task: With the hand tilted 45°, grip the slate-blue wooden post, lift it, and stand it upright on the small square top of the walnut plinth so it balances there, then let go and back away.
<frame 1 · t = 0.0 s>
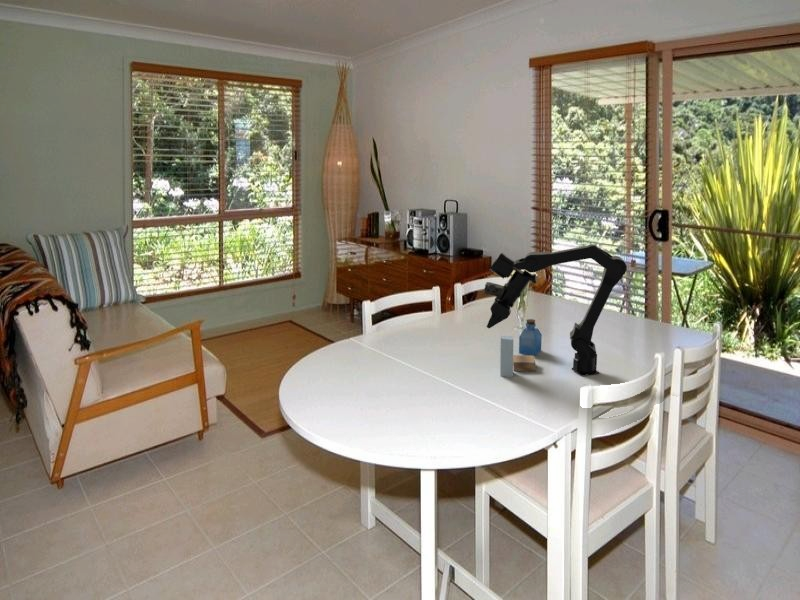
hand: (489, 323, 189), 15 cm above the table, tool tilted 35°, fingers open, 9 cm apart
walnut plinth: (523, 367, 190), on the table
slate-blue post: (506, 374, 184), on the table
perfume bottle: (530, 352, 205), on the table
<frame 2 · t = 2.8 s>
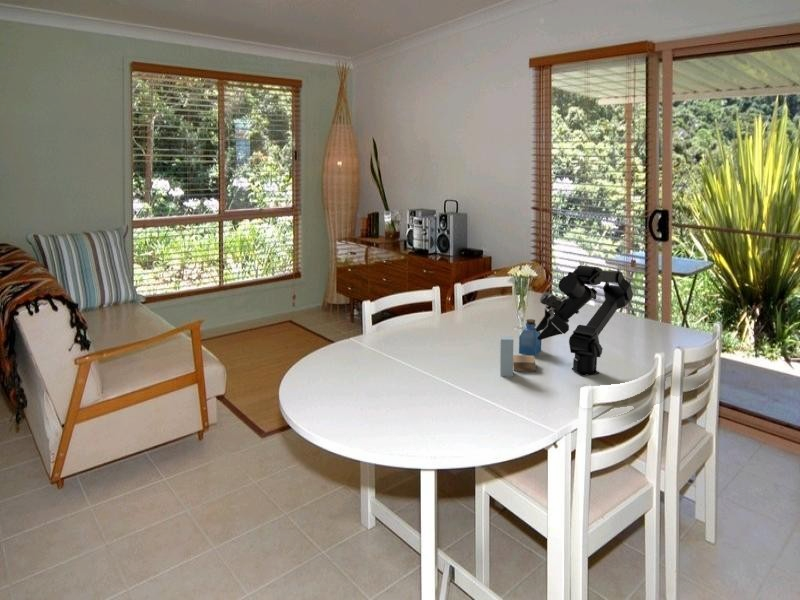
hand: (537, 334, 180), 14 cm above the table, tool tilted 45°, fingers open, 9 cm apart
nothing on the table moved.
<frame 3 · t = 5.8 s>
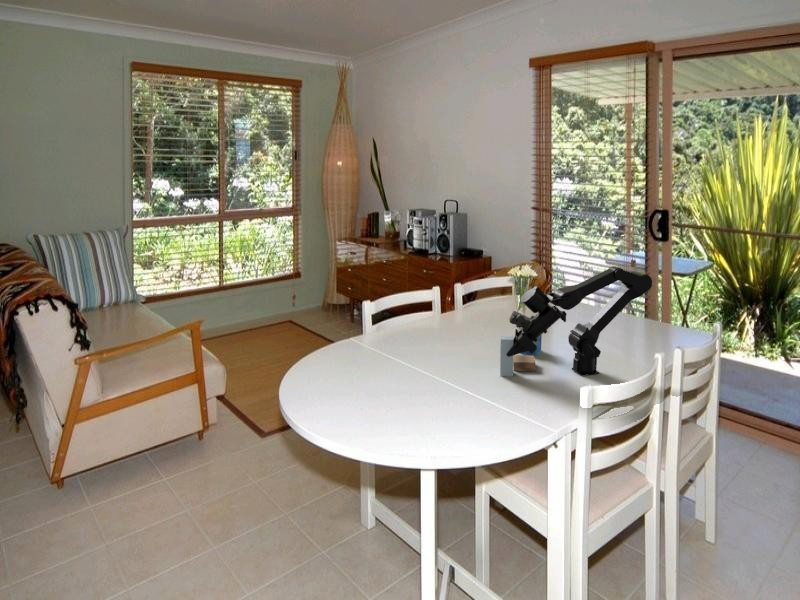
hand: (507, 353, 183), 7 cm above the table, tool tilted 45°, fingers closed on slate-blue post, 4 cm apart
slate-blue post: (506, 373, 184), on the table, touching gripper
everything else where it was.
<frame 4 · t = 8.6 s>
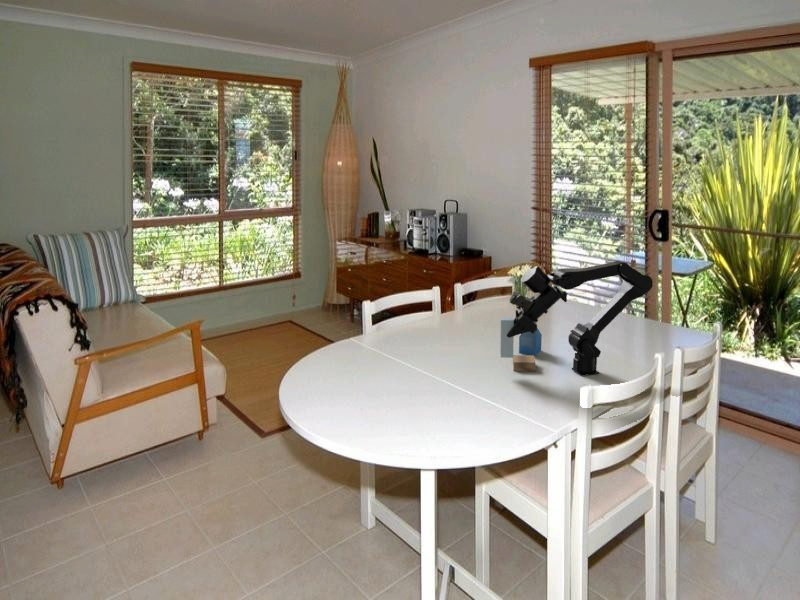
hand: (507, 334, 181), 14 cm above the table, tool tilted 45°, fingers closed on slate-blue post, 4 cm apart
slate-blue post: (506, 355, 183), point 6 cm above the table, touching gripper
everything else where it was.
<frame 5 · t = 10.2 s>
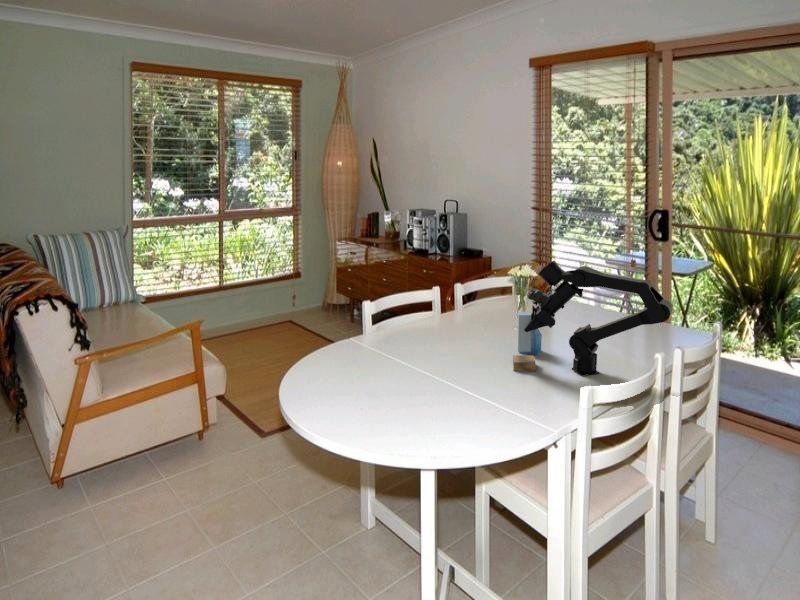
hand: (524, 329, 186), 14 cm above the table, tool tilted 45°, fingers closed on slate-blue post, 4 cm apart
slate-blue post: (524, 349, 188), point 6 cm above the table, touching gripper
everything else where it was.
when the fingers open (11 cm above the table, at t = 11.6 s): slate-blue post stays where it is, resting on walnut plinth.
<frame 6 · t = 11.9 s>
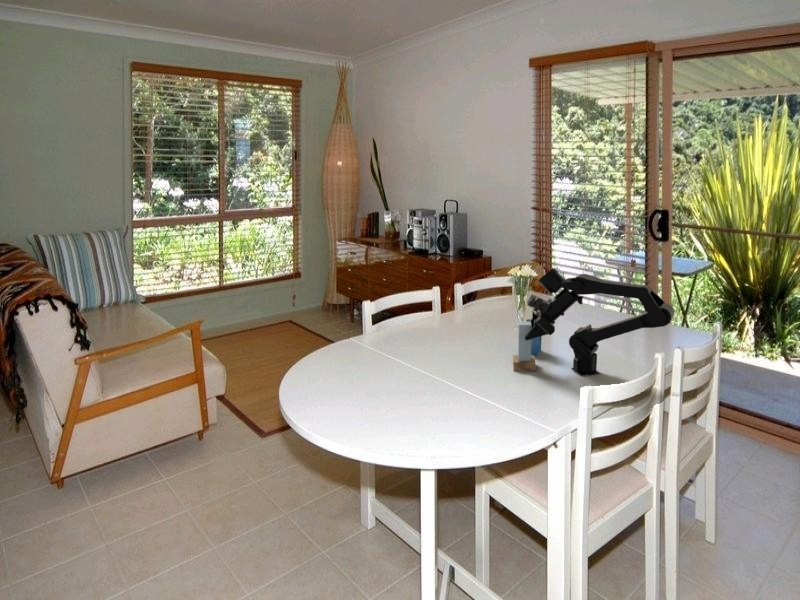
hand: (524, 336, 187), 11 cm above the table, tool tilted 45°, fingers open, 7 cm apart
slate-blue post: (524, 358, 189), point 3 cm above the table, touching walnut plinth
everything else where it was.
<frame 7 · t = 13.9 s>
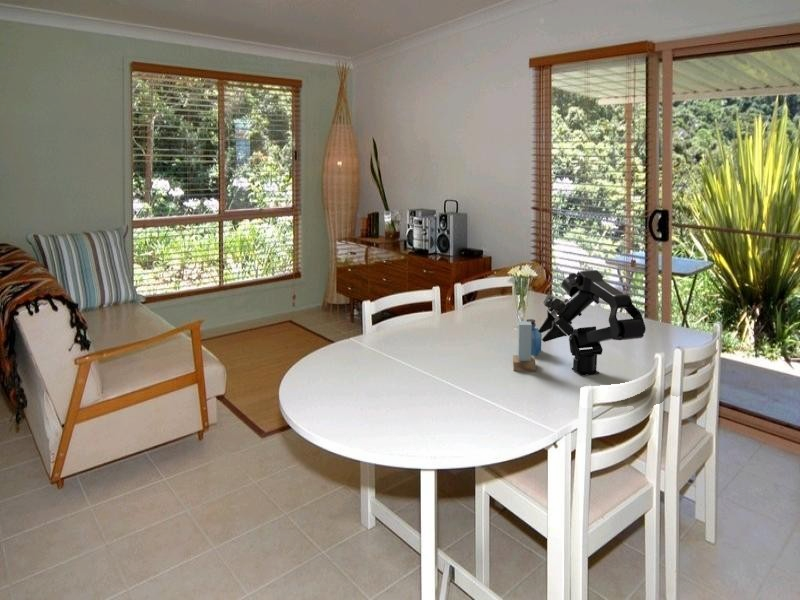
hand: (541, 336, 186), 11 cm above the table, tool tilted 45°, fingers open, 9 cm apart
nothing on the table moved.
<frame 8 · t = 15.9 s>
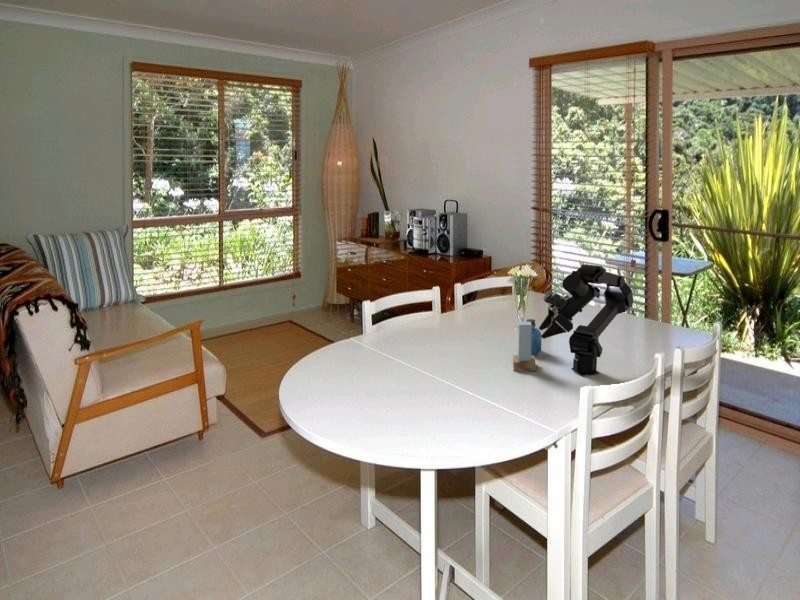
hand: (540, 333, 181), 14 cm above the table, tool tilted 45°, fingers open, 9 cm apart
nothing on the table moved.
at the end: slate-blue post 0.1 cm off-centre on the walnut plinth, point 3.0 cm above the walnut plinth's base; slate-blue post tilted 0°; the gripper is holding nothing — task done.
